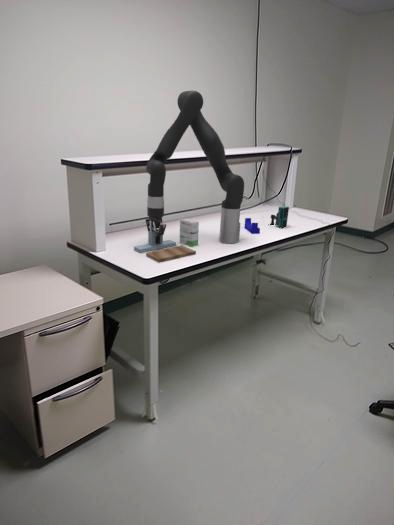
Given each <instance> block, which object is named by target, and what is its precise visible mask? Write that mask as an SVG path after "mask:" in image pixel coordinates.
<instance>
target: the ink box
mask: <svg viewBox="0 0 394 525" xmlns="http://www.w3.org/2000/svg"><path fill="white" fill-rule="evenodd" d="M199 226H200V222H199V221H198V220H194V219H189V218H182V219H180V220H179V244H181V245H183V246H184V245H185V246H188V247H192V248H193V247H195V246H198V245H199V232H200V231H199V228H200V227H199Z"/></svg>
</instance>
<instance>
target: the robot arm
mask: <svg viewBox="0 0 394 525" xmlns="http://www.w3.org/2000/svg"><path fill="white" fill-rule="evenodd" d="M176 101H177V102H176V104H177V107H178V110H179V113H178V115H177V117H176V119H175V120H174V122H173V123H172V124H171V125H170V127H169V128H168V129H167V130H166V131H165V134H164V135H163V137H162V139H161V140H160V142H159V144H158V146H157V148H156V150H155V151H154V152H153V153H152V154H151V157H150V158H149V160H148V161H147V162H146V163H147V164H146V166H145V169H146V172H147V174H149V175H150V177H149V183H148V185H147V200H146V201H147V203H146V204H147V205H146V210H147V211H146V212H147V213H146V214H147V217H148V218H146V219H145V223H146V224H145V225H146V228H147V233H148V232H152V231H155V235H156V239H155V243H156V244H160V236H161V235H163V236H164V235H165V231H166V228H167V224H166V223H163V217H164V216H165V199H164V198H165V196H164V189H165V187H164V186H165V181H166V174H167V170H166V169H167V168H166V165H165V164H166V162H167V161H168V160H169V159H170V158H171V157H172V156H173V154H174V153H175V150H176V149H177V146H178V145H179V143H180V141H181V139H182V138H183V136H184V134H185V133H186V131H187V130H188V128H189V127H190V128H191V130H192V131H193V134H194V137H195V138H196V139H197V141H198V144H199V146H200V148H201V149H202V152H203V153H204V155H205V157H206V158H207V161H208V162H209V164H210V166H211V168H212V170H213V172H214V174H215V176H216V178H217V182H218V183H219V186H220V188H221V189H222V190H223V191H224V192H225V193H226V196H225V199H223V200H222V202H221V209H220V210H221V212H220V227H219V242H220V243H223V244H237V243H238V242H240V236H241V235H240V233H241V222H240V216H241V206H242V203H243V200H244V195H245V194H244V192H245V181H244V178H243V177H242V176H241V175H239V174H235V173H234V172H232V170H231V168H230V166H229V164H228V162H227V159H226V152H225V151H226V150H225V147H224V146H225V145H224V144H223V142H222V140H221V138H220V136H219V135H218V133H217V131H216V130H215V129H214V128H213V127H212V125H211V124H210V123H209V122H208V121H207V119H206V118H205V117H204V115H203V113H202V111H201V110H202V108H203V106H204V97H203V96H202V94H201V93H200V92H199V91H196V90H186V91H182V92H181V93H179V95H178V97H177V100H176ZM158 231H159V232H158ZM161 232H162V233H161Z"/></svg>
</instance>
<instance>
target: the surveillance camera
mask: <svg viewBox="0 0 394 525" xmlns="http://www.w3.org/2000/svg"><path fill="white" fill-rule="evenodd" d="M289 211H290V207H289V206H286V207H285V206H279V207H278V212H277V213H276V215H275V214H271V215H270V219H271V222H270V223H269V224H270V225H274V224H275V226H278V228H280V229H285V228H284V227H286V226H287V225H288V217H289ZM269 224H267V225H268V226H270V225H269ZM286 228H287V227H286Z"/></svg>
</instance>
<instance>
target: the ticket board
mask: <svg viewBox="0 0 394 525" xmlns="http://www.w3.org/2000/svg"><path fill="white" fill-rule="evenodd" d="M195 255H197V251H196V250H194V249H192V248H189V247H187V246H186V245H185V246H184V245H183V244H181V245H179V246H177V245H176V246H171V247H166V248H161V249H156V250H151V251H146V252H145V257H147V258H149V259H151V260H153V261H155V262H157V263H158V264H160V263H164V262H169V261H172V260H177V259H181V258H185V257H190V256H195Z"/></svg>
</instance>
